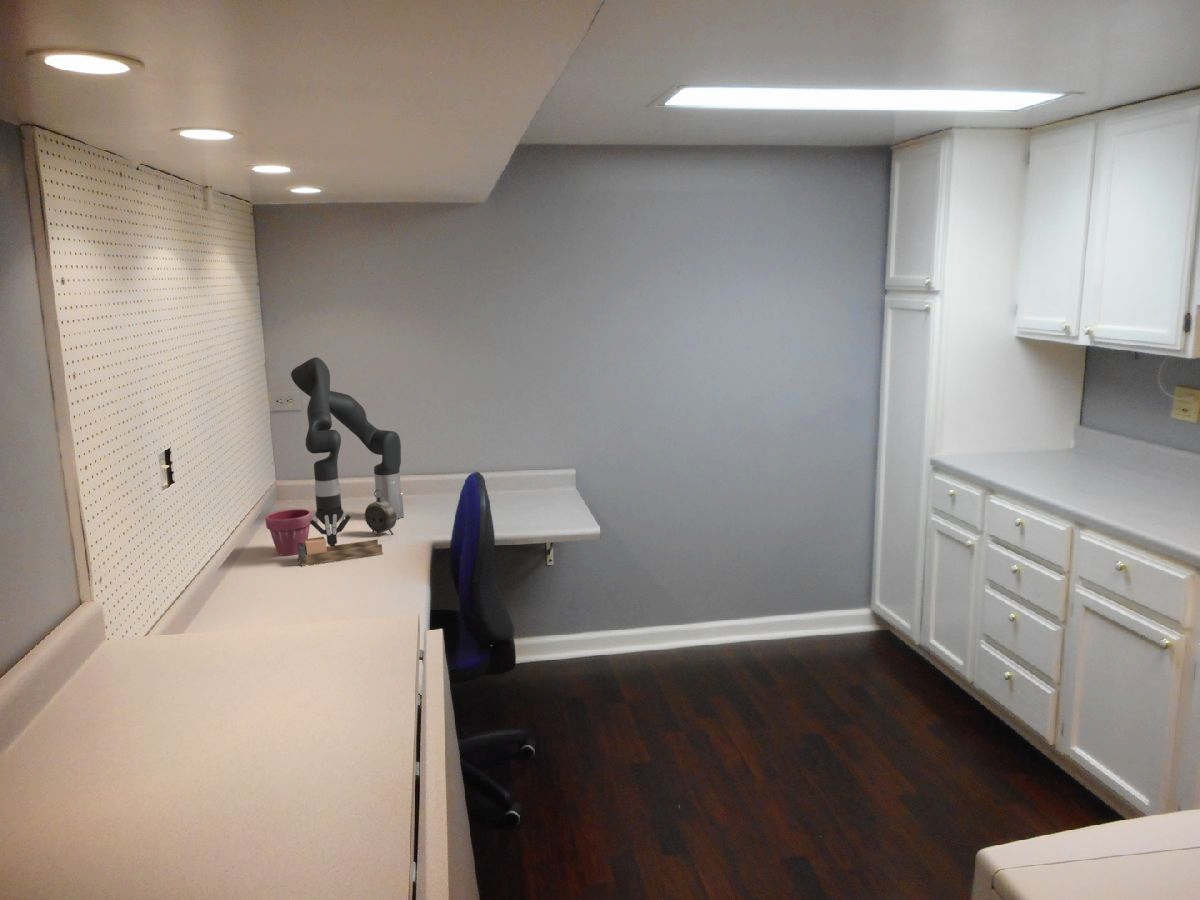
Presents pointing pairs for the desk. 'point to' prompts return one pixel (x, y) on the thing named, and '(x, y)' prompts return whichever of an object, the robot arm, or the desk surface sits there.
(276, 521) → the plant pot
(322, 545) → the terracotta block
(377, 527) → the alarm clock
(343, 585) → the desk surface
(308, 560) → the walnut chute
